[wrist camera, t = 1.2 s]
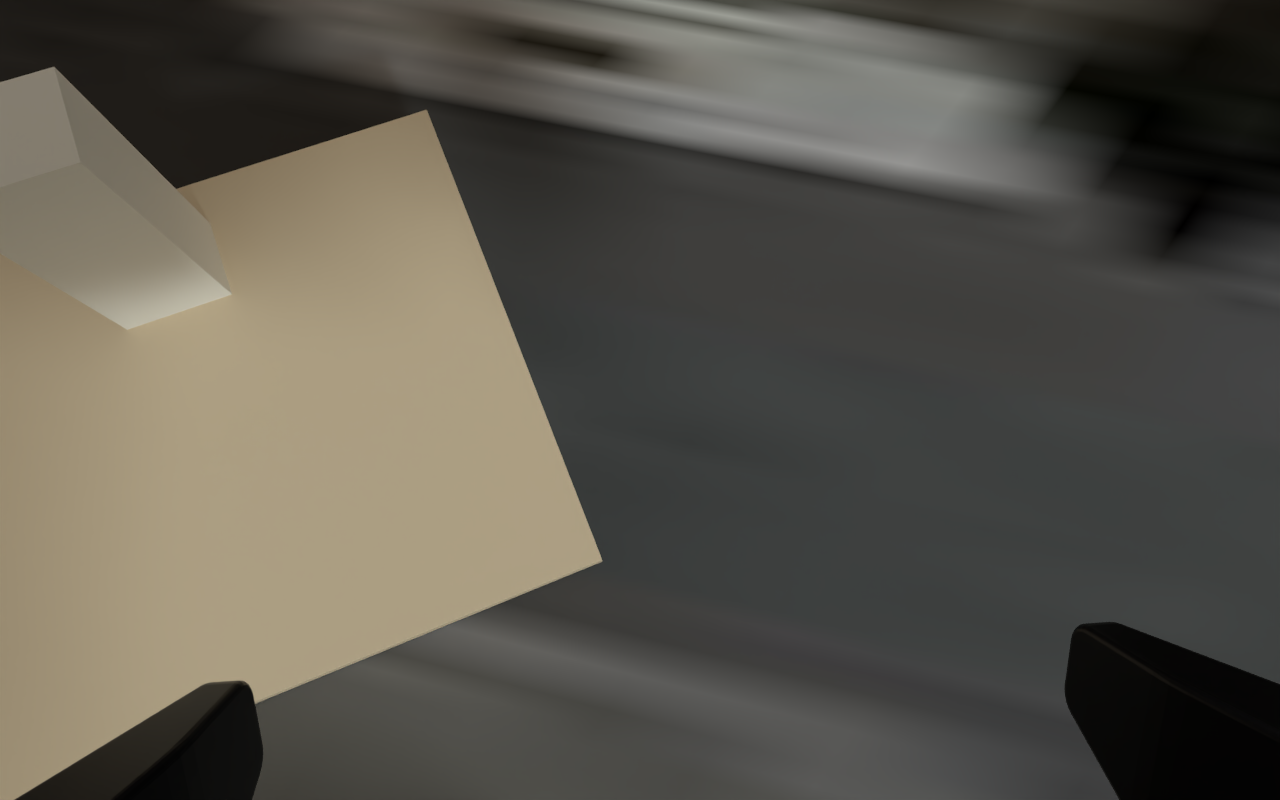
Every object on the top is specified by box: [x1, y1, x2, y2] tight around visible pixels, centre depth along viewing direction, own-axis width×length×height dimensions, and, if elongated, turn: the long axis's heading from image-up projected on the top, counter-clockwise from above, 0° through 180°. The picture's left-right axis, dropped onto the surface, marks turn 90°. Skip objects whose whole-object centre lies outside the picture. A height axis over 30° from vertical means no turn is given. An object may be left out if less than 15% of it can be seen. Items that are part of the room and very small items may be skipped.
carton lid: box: [0, 67, 602, 800], centre depth 16 cm, size 12×14×7 cm
